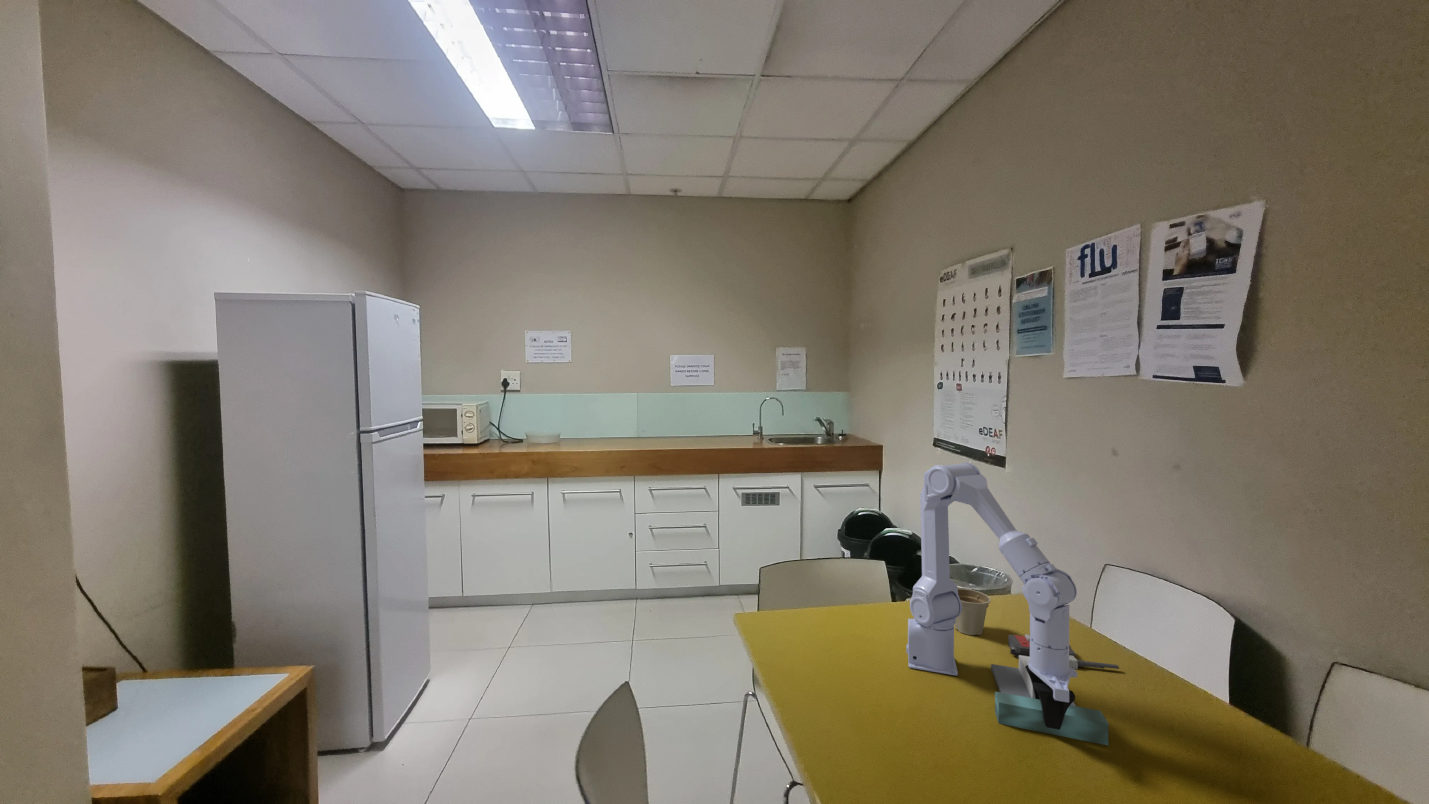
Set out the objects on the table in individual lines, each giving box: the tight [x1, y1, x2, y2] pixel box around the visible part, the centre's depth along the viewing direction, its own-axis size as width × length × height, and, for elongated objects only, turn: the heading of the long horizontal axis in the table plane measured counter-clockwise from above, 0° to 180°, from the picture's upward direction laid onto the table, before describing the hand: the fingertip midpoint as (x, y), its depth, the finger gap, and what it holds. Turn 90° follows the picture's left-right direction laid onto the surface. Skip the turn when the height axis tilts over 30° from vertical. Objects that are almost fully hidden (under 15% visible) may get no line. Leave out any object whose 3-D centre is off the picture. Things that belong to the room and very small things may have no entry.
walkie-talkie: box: [1007, 633, 1120, 670], centre depth 110 cm, size 9×4×20 cm
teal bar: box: [994, 691, 1109, 746], centre depth 87 cm, size 16×4×4 cm, turn 70°
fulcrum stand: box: [990, 655, 1077, 706], centre depth 98 cm, size 12×12×4 cm
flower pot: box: [954, 588, 992, 636], centre depth 123 cm, size 9×9×9 cm
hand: (1048, 719), depth 87 cm, fingers open, 4 cm apart
